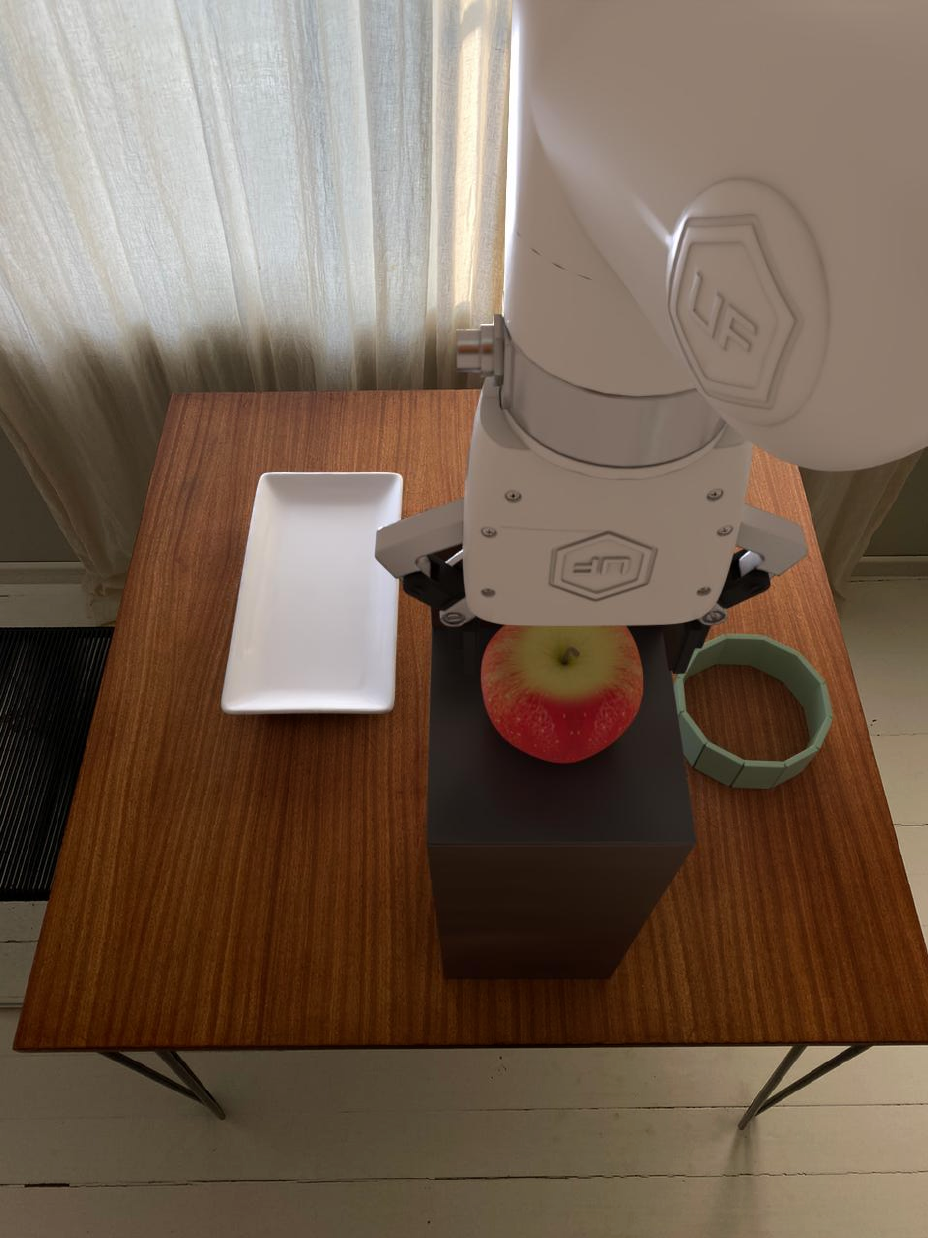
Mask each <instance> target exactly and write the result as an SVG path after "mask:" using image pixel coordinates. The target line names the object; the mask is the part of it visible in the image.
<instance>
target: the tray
mask: <svg viewBox="0 0 928 1238" xmlns="http://www.w3.org/2000/svg"><path fill="white" fill-rule="evenodd" d="M403 492H404V478H403V476H402V475H401V474H400V473H396V472H384V471H383V472H382V471H381V472H380V471H378V472H377V471H376V472H373V471H370V472H369V471H367V472H365V471H364V472H321V471H319V472H301V471H300V472H299V471H297V472H295V471H294V472H292V471H291V472H289V471H286V472H285V471H284V472H282V471H281V472H280V471H279V472H277V471H276V472H275V471H274V472H265V473H263V474H262V475H260V477H259V480H258V484H257V487H256V492H255V497H254V502H253V507H252V513H251V518H250V524H249V530H248V536H247V542H246V548H245V552H244V553H245V554H244V559H243V565H242V571H241V576H240V583H239V589H238V595H237V601H236V608H235V614H234V621H233V627H232V634H231V640H230V644H229V645H230V646H229V652H228V658H227V665H226V668H225V669H226V670H225V676H224V682H223V688H222V694H221V699H220V708H221V711H222V712H223V713H225V714H227V715H281V714H283V715H284V714H285V715H286V714H287V715H288V714H350V715H352V714H354V715H355V714H358V715H359V714H360V715H362V714H363V715H381V714H382V715H383V714H389V713H390V712H391V711H393V709H394V706H395V700H396V699H395V697H396V676H397V675H396V674H397V673H396V672H397V671H396V669H397V644H398V643H397V642H398V621H399V620H398V618H399V596H400V595H399V593H400V590H399V589H400V580H399V579H398V578H397V579H395V578H394V577H393V576H392V575H391V574H390V573H389V572H388V571H387V570H386V569H385V568H384V567H383V566H382V565H381V564H380V563H379V562H378V561H377V560H376V558H375V546H376V532H377V530H378V529H379V528H380V527H382V526H385V525H388V524H391V523H393V522H396V521H399V520H402V510H403V494H404V493H403Z"/></svg>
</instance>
